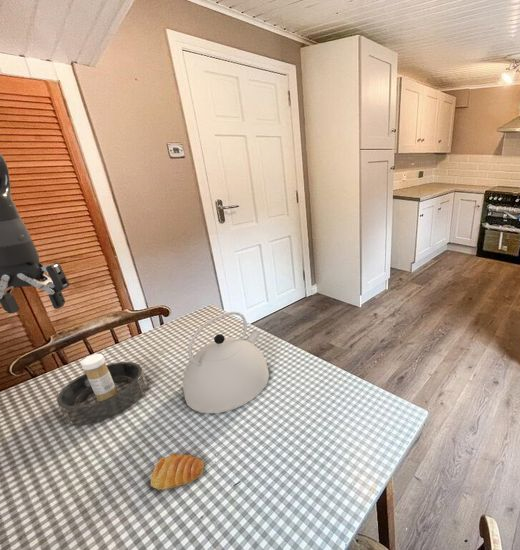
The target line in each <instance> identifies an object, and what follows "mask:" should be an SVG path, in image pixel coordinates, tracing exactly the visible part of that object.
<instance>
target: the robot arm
mask: <svg viewBox="0 0 520 550" xmlns="http://www.w3.org/2000/svg"><path fill="white" fill-rule="evenodd" d="M10 178H11V177H10V173H9V167H8V163H7V161H6V160H5V158H4V156H3V154H2V153H1V152H0V305H1V307H2V308H3V310H4V311H5V312H7V313H8V315H9V314H15V313H17V312H19V311H20V306H19V304H18V302H17V300H16V298H15V296H14V294H12V292H13V290H14V289H16V288H21V287H26V288H28V287H34V288H36V289H38V290H41V291H43V292H44V293H45V292H46V293H47V294H48V298H49V300H50V302H51V305H52V307H53V309H55V310H59V309H62V308H63V307H64V305H65V304H66V300H65V298H64V295H63V293H62V291H64V290H65V289H67V288H68V287H70V286H71V285H70V282H69V280H68V278H67V276H66V274H65V272H64V270H63V268H62V266H61V264H60V263H59V262H53V263H52V264H46V265H43V264H42V262H40V255H39V252H38V251H37V248H36V246H35V243H34V240H33V239H32V236H31V234H30V231H29V229H28V228H27V226H26V224H25V223H24V221H23V219H22V217H21V215H20V213H19V211H18V208H17V206H16V204H15V201H14V200H13V197H12V188H11V187H12V186H11V179H10Z"/></svg>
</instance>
